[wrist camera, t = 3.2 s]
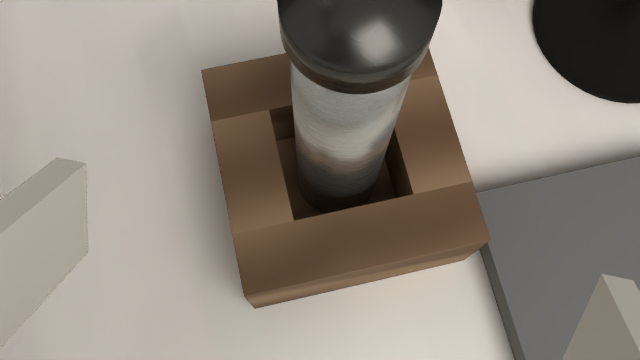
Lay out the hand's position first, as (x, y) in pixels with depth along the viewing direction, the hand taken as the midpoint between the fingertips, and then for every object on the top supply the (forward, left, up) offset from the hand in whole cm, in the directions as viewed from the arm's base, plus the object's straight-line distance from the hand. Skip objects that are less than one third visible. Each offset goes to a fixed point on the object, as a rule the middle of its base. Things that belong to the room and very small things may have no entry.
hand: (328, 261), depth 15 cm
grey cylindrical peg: (-7, +2, -14) cm, 16 cm away
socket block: (-7, +2, -15) cm, 17 cm away
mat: (+1, +14, -15) cm, 21 cm away
